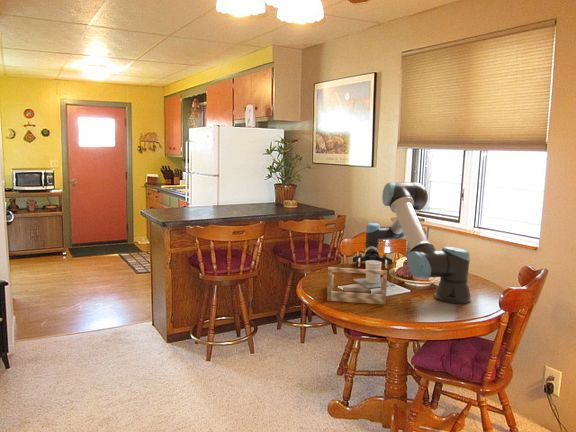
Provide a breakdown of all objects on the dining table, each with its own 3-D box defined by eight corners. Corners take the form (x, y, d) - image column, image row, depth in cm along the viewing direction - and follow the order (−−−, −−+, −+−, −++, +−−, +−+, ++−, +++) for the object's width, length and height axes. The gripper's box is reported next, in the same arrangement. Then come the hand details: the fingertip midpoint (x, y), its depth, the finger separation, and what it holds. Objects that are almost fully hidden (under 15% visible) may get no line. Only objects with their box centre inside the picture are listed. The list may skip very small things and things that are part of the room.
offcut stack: (369, 297, 215) (370, 287, 214) (372, 301, 209) (372, 291, 209) (339, 297, 215) (339, 287, 214) (340, 301, 209) (341, 291, 208)
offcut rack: (383, 289, 226) (385, 259, 224) (385, 304, 205) (387, 271, 203) (330, 286, 230) (331, 256, 228) (327, 300, 209) (328, 267, 207)
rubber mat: (394, 285, 233) (394, 284, 232) (367, 288, 227) (367, 287, 227) (378, 277, 246) (378, 276, 246) (352, 280, 241) (352, 279, 241)
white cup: (380, 284, 233) (381, 264, 231) (364, 283, 234) (365, 263, 233) (380, 280, 241) (381, 260, 239) (365, 278, 242) (365, 259, 241)
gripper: (394, 262, 260) (397, 273, 239) (348, 260, 264) (347, 270, 243) (395, 249, 259) (398, 258, 238) (349, 246, 262) (348, 256, 242)
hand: (372, 264), depth 240 cm, fingers open, 13 cm apart
